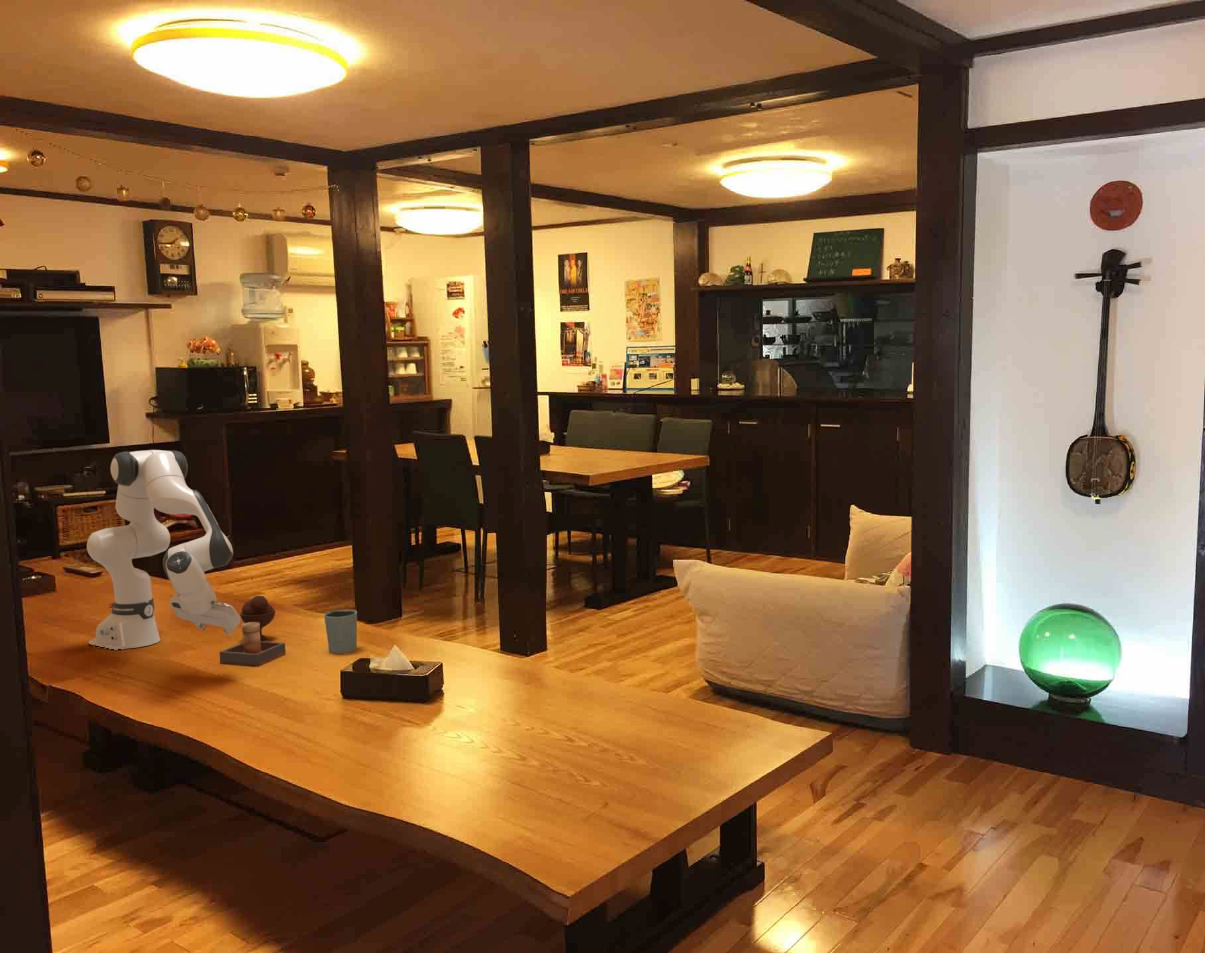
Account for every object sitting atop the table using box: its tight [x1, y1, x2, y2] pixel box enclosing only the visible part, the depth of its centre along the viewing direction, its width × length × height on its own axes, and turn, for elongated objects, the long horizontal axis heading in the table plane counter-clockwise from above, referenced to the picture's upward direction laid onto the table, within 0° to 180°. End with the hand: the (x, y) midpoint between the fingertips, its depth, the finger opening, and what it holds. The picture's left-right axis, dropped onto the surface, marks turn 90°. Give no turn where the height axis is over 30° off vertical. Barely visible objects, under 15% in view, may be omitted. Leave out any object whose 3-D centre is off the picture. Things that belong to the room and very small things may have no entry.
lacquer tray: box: [219, 641, 286, 667], centre depth 317 cm, size 14×14×4 cm
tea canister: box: [241, 622, 261, 654], centre depth 316 cm, size 5×5×10 cm
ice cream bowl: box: [239, 595, 276, 642], centre depth 338 cm, size 11×11×15 cm
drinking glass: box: [323, 609, 358, 655], centre depth 324 cm, size 10×10×12 cm
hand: (216, 630), depth 305 cm, fingers open, 8 cm apart
